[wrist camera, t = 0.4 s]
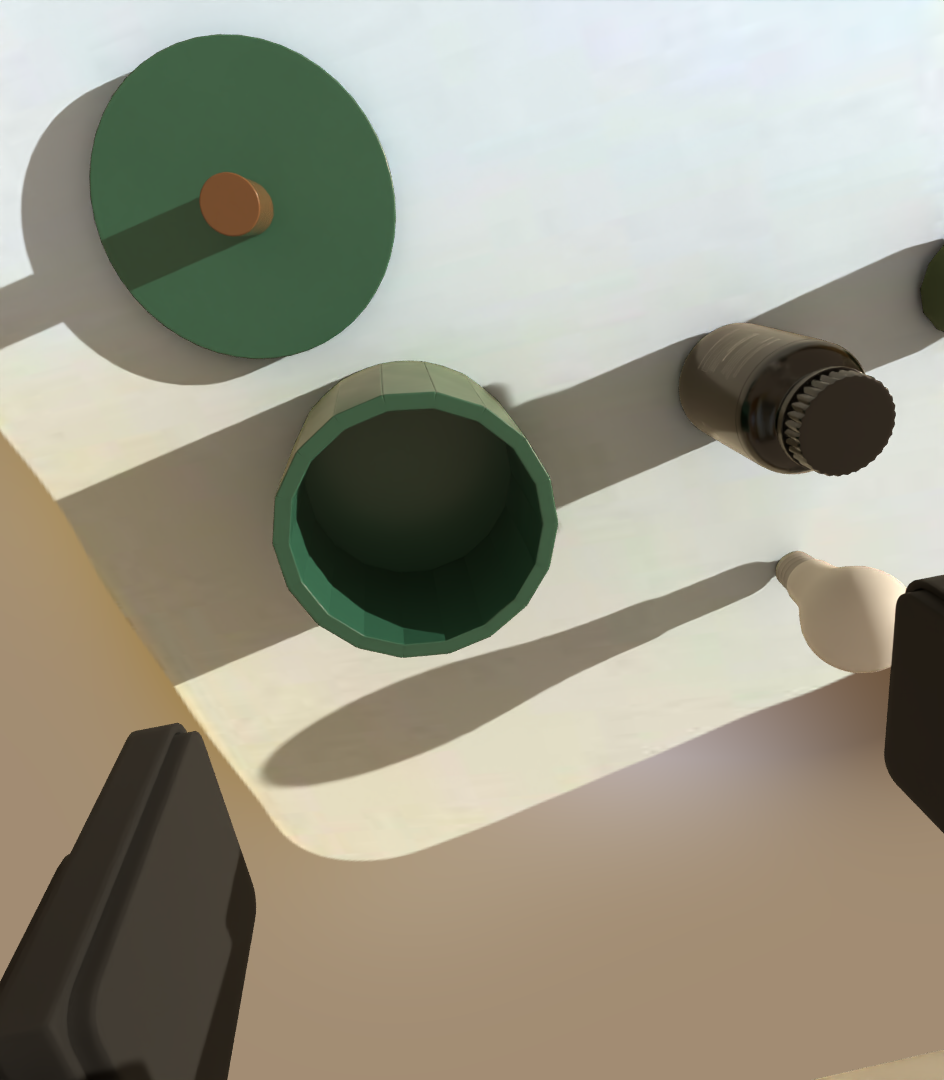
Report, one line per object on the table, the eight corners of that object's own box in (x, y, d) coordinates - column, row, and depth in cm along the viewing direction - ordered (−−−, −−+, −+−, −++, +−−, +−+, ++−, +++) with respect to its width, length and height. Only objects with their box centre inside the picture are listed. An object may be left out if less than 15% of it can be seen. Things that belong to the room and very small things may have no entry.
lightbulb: (829, 510, 49) (946, 581, 39) (832, 591, 52) (944, 678, 42) (740, 534, 49) (834, 611, 39) (747, 614, 52) (838, 706, 42)
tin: (242, 474, 44) (209, 533, 35) (414, 307, 42) (426, 326, 33) (404, 620, 49) (411, 704, 40) (567, 477, 46) (612, 534, 38)
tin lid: (33, 195, 37) (-28, 188, 32) (238, -38, 35) (212, -91, 29) (260, 410, 43) (243, 438, 37) (453, 221, 40) (466, 219, 34)
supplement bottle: (678, 445, 46) (774, 510, 35) (671, 332, 44) (773, 365, 33) (785, 424, 47) (912, 482, 36) (785, 311, 44) (922, 336, 33)
